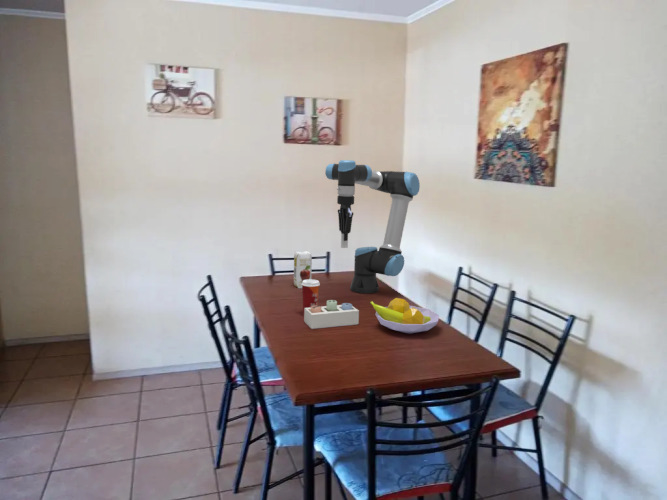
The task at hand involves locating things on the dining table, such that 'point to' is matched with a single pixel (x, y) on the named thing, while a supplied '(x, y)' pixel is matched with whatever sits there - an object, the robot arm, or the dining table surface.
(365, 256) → the robot arm
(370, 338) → the dining table surface
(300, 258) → the juice carton
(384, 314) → the fruit bowl
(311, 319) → the panel
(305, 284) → the coffee cup
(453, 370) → the dining table surface
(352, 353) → the dining table surface
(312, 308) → the button three
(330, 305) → the button two
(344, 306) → the button one
